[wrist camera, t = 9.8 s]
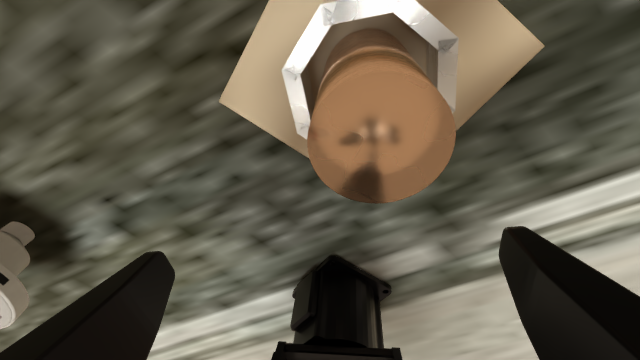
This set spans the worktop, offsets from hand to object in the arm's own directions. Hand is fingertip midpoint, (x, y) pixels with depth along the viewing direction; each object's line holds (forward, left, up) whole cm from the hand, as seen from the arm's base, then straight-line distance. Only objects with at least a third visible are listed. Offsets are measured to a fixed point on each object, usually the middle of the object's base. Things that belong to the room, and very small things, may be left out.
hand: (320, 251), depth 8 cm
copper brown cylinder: (0, -2, -11) cm, 11 cm away
